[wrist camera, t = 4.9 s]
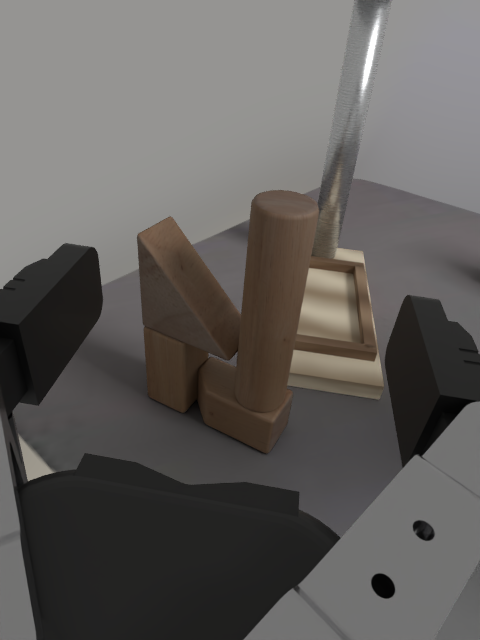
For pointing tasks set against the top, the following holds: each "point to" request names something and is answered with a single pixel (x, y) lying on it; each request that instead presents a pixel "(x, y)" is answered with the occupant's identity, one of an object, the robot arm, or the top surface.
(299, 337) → the seat board
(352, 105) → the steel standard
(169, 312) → the wooden block
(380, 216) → the top surface
